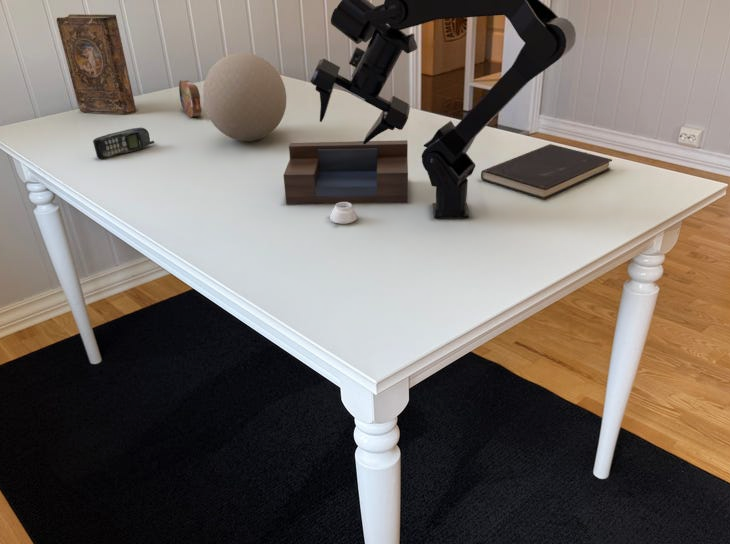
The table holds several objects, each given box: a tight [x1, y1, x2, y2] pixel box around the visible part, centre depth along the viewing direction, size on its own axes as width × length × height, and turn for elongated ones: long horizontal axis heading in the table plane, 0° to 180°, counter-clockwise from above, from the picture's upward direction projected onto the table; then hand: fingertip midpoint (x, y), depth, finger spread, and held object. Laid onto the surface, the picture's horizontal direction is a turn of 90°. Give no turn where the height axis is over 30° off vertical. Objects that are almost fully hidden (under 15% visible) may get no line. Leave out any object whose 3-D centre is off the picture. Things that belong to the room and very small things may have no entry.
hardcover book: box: [480, 143, 613, 201], centre depth 142 cm, size 16×23×2 cm
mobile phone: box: [92, 127, 155, 160], centre depth 165 cm, size 5×3×15 cm
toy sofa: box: [282, 139, 409, 205], centre depth 136 cm, size 12×24×8 cm, turn 87°
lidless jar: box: [329, 202, 358, 225], centre depth 127 cm, size 5×3×5 cm
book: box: [56, 13, 137, 116], centre depth 192 cm, size 16×6×25 cm, turn 73°
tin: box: [178, 80, 202, 118], centre depth 190 cm, size 15×3×8 cm, turn 25°
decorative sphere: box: [202, 52, 287, 142], centre depth 165 cm, size 20×20×20 cm
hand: (342, 131), depth 131 cm, fingers open, 9 cm apart
